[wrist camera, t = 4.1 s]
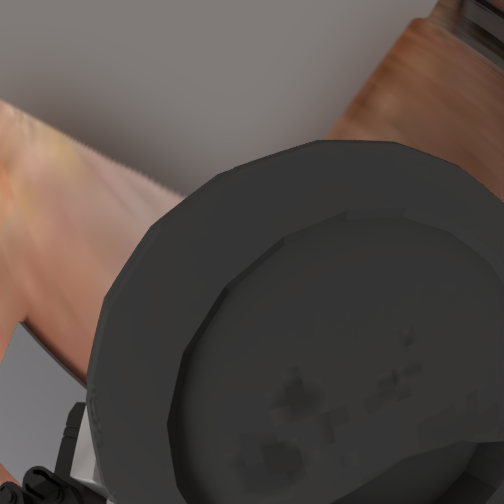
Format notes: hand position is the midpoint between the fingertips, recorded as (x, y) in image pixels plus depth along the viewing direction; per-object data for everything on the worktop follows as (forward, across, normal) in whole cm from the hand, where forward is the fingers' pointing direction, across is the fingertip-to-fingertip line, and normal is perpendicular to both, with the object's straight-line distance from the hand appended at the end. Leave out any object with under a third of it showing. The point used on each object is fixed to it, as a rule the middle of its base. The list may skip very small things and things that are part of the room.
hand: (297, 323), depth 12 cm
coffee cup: (+4, 0, -6) cm, 7 cm away
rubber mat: (-1, -18, -11) cm, 21 cm away
